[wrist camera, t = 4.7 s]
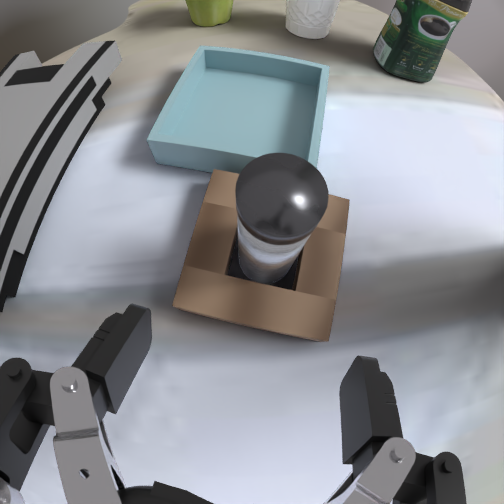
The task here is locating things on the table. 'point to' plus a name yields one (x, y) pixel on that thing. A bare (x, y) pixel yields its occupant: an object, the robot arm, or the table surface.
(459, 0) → the coffee jar
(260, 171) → the bottle with dark cap
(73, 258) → the table surface
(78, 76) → the game console
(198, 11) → the plant pot
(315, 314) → the brown square frame
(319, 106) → the parts tray
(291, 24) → the white cup
